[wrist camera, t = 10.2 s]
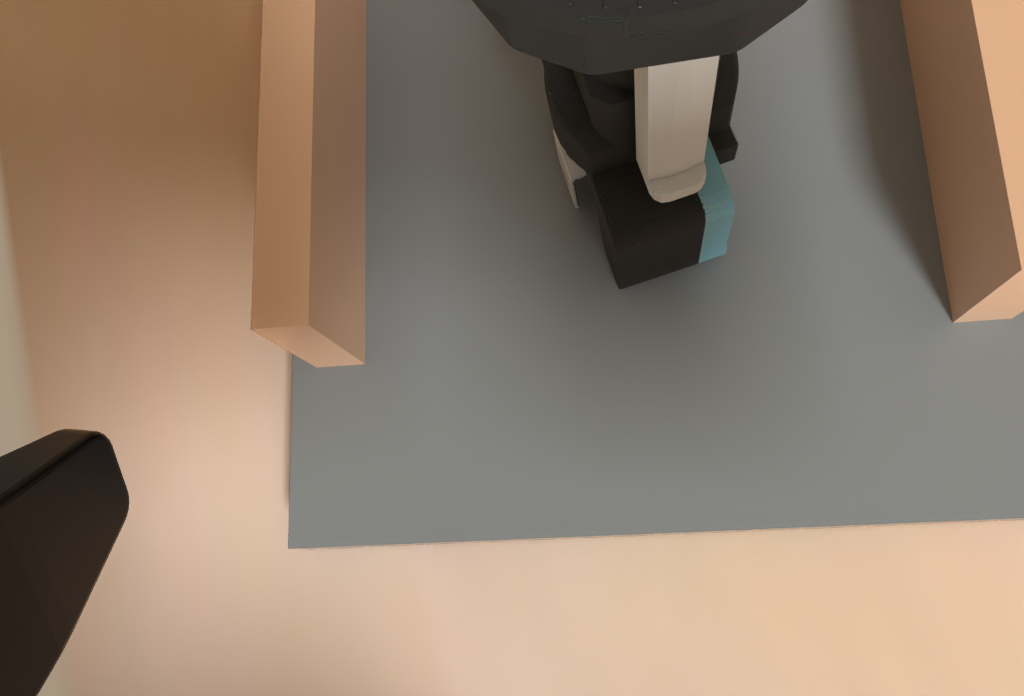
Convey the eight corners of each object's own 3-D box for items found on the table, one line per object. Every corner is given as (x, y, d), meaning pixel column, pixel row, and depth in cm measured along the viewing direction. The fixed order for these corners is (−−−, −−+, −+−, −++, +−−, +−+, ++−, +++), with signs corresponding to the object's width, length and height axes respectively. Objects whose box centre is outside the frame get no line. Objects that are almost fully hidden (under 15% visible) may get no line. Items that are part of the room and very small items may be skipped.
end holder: (1052, 518, 16) (1185, 505, 12) (307, 549, 18) (212, 546, 14) (920, -209, 20) (987, -397, 16) (320, -119, 21) (249, -268, 18)
